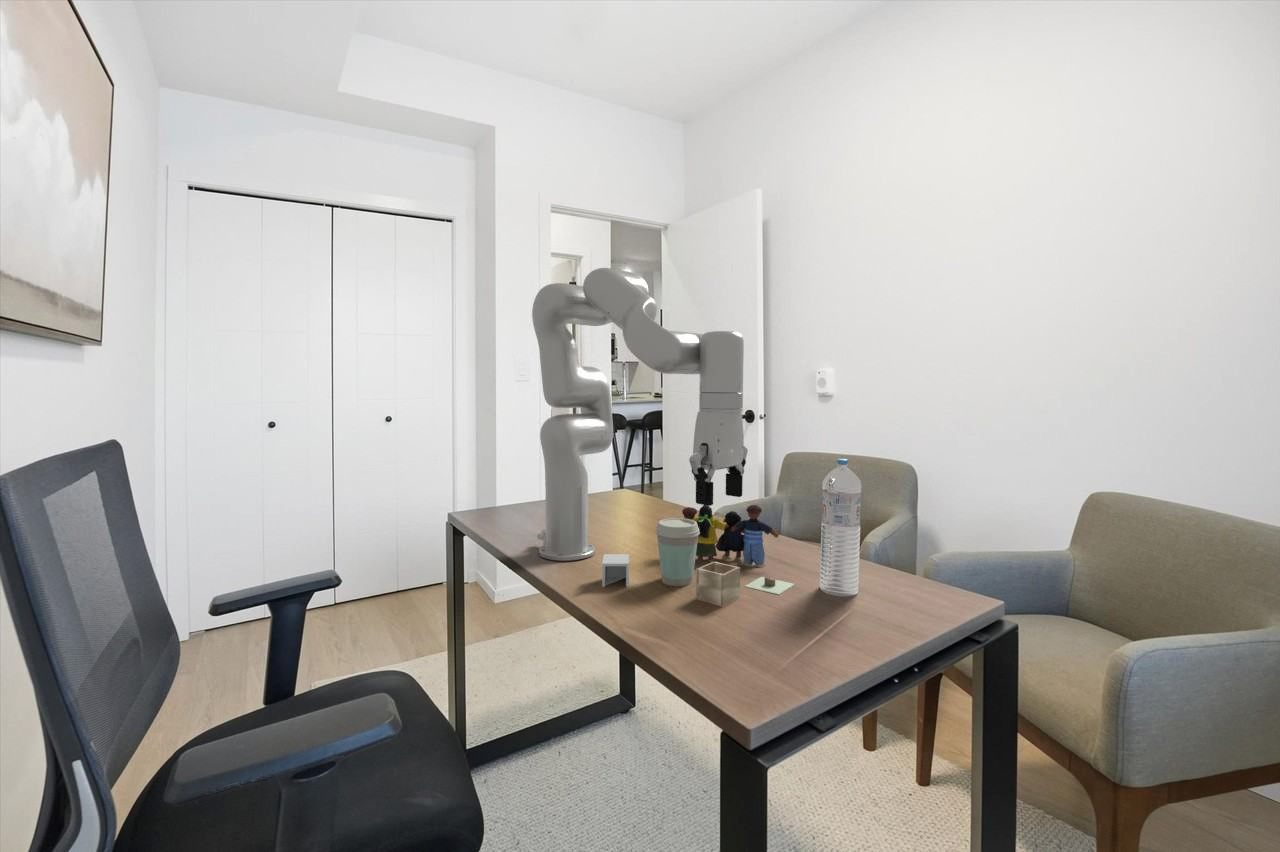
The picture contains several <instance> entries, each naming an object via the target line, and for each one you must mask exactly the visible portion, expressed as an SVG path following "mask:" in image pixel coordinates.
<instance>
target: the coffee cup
mask: <svg viewBox="0 0 1280 852" xmlns="http://www.w3.org/2000/svg"><path fill="white" fill-rule="evenodd" d="M655 534H656V535H657V537H656V539H657V545H658V546H657V547H658V557H659V564H660V567H659V568H660V574H661V582H662V583H663V584H664V585H667V586H673V587H685V586H688V585H691V584H692V583H693V582H694V581H693V580H694V574H695V573H694V571H695V564H696V549H697V540H698V535H699V534H700V532H699V528H698V525H697V522H696V521H693V520H690V519H685V518H684V517H683V518H681V517H679V518H678V517H677V518H675V517H672V518H664V519H660V520H659V521H658V523H657V526H656V528H655Z"/></svg>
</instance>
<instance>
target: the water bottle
mask: <svg viewBox="0 0 1280 852" xmlns="http://www.w3.org/2000/svg"><path fill="white" fill-rule="evenodd" d="M848 463H849V459H847V458H837V459H836V465H837V467H835V468H833V469H832V470H831V471H830V472H828V473H827V475H826V476H825V477H824V478H823V480H822V486H821V488H822V509H821V510H822V511H821V514H822V516H821V525H820V526H821V528H820V530H821V531H820V532H821V533H820V557H819V558H820V563H819V564H820V566H819V570H820V571H819V574H820V575H819V587H820V591H821V592H823V593H824V594H827V595H830V596H834V597H847V598H849V597H854V596H856V595H857V594H858V592H859V577H860V575H859V574H860V569H859V568H860V553H861V552H860V548H861V547H860V546H861V544H860V543H861V524H860V523H861V498H862V497H861V496H862V495H861V492H862V482H861V479H860V477H858V475H857V474H856V473H855V472H854V471H853V470H851V469H850V468H848V465H849V464H848Z"/></svg>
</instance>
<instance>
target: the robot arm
mask: <svg viewBox="0 0 1280 852" xmlns="http://www.w3.org/2000/svg"><path fill="white" fill-rule="evenodd" d="M649 291H650V290H649V287H648V284H647V282H646V280H645V279H644V278H643V277H642V276H640V275H639V274H637V273H635V272H631V271H626V270H622V269H621V270H620V269H615V268H611V267H610V268H609V267H599V268H596V269H594V270H592V271H590V272H589V273H588V274H587V275H586V276H585V278H584V280H583V283H582V285H578V284H573V283H562V282H555V283H549V284H546V285H544V286H543V287H542V288H540V290H538V292H537V294H536V295H535V298H534V301H533V304H532V309H531V317H532V324H533V329H534V332H535V337H536V341H537V344H538V348H539V349H538V350H539V360H540V361H539V362H540V373H541V384H542V392H543V397H544V400H545V402H546V404H547V405H549V406H550V407H553V408H557V409H577V408H580V413H563V414H561V413H560V414H557V415H553V416H551V417H549V418H547V419H546V420H545V421H544V422H543V423H542V425H541V428H540V432H539V439H540V445H541V450H542V455H543V461H544V481H545V482H544V483H545V484H544V486H545V528H544V529H542V530H541V532H539V533H537V535H536V537H537V539H538V540H541V541H543V544H542V545H541V546H540V547H539V549H538V554H539V556H540V557H542V558H544V559H547V560H551V561H559V562H560V561H563V562H566V561H568V562H570V561H578V560H583V559H588V558H590V557H592V556H594V554H595V553H596V547H595V546H594V545H593V544H592V543H589V483H588V482H589V480H588V479H589V478H588V477H589V476H588V472H587V469H586V466H585V465H584V463H583V461H582V459H581V456H586V455H593V454H599V453H603V452H606V451H607V450H608V449H609V448H610V447H611V445H612V443H613V438H614V421H613V419H614V418H613V410H612V399H611V391H610V384H609V381H608V379H607V377H606V375H605V374H604V372H603V371H601V370H600V369H599V368H596V367H594V366H582V365H580V362H579V360H580V359H579V353H578V351H579V350H578V346H577V343H576V339H575V338H574V336H573V334H572V333H571V331H570V330H569V329H568V327H567V324H569V325H570V324H572V325H579V326H580V325H581V326H590V327H600V326H605V325H609V324H611V323H613V324H614V325H615V326H616V327H618V329H620V330H621V331H622V336H623V340H624V343H625V345H626V348H627V349H628V351H630V353H631V354H632V355H633V356H635V357H636V358H637V360H639V361H641V363H643V364H644V365H646V367H648V368H649V369H651V370H653V371H655V372H657V373H659V374H665V375H671V374H672V375H674V374H675V375H699V395H698V396H699V397H698V398H699V400H698V401H699V405H698V407H699V408H698V410H699V411H697V415H696V418H695V425H694V433H693V446H692V447H693V448H692V449H693V450H692V455H690V456H689V458H688V459H689V460H688V462H689V463H690V468H691V474H692V475H693V480H694V482H695V503H696V505H701V506H703V505H708V506H709V507H710V506H713V505H714V481H712V479H713V477H714V474H715V472H716V470H717V471H719V470H724V469H726V470H727V473H725V495H726V496H729V497H731V496H732V497H736V498H741V497H742V496H743V482H744V481H743V479H744V478H743V475H744V474H745V465H746V464H747V463H746V462H747V460H746V459H747V455H748V452H749V451H748V447H747V446H745V445H744V443H745V442H744V440H745V439H744V423H743V414H742V412H743V411H744V410H743V405H744V393H743V392H744V355H745V354H744V353H745V352H744V348H745V347H744V346H745V343H744V341H745V340H744V337H743V335H742V334H741V333H739V332H737V331H733V330H732V331H728V330H714V331H713V330H712V331H706V332H705V333H694V332H686V331H677V330H668V329H666V328H665V327H663V326H662V325H660V324H659V323H658V322H656V321H655V319H656V316H657V312H658V309H657V303H656V302H655V300H654V298H653V297H651V295H649V294H650V292H649ZM706 471H707V472H706Z"/></svg>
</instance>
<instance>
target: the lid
mask: <svg viewBox="0 0 1280 852" xmlns="http://www.w3.org/2000/svg"><path fill="white" fill-rule="evenodd" d="M795 585H796V584H795V583H792V582H788V581H783V580H778V579H776V578H775V577H771V576H767V577H764V576H760V577H758V578H756V579H754V580H753V581H751V582H750V583H747V584H745V585H744V588H748V589H753V590H757V591H761V592H764V593H770V594H772V595H777V596H780V595H781V594H783V593H784V592H786V591H788V590H789V589H791V588H792V587H794V586H795Z"/></svg>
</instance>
